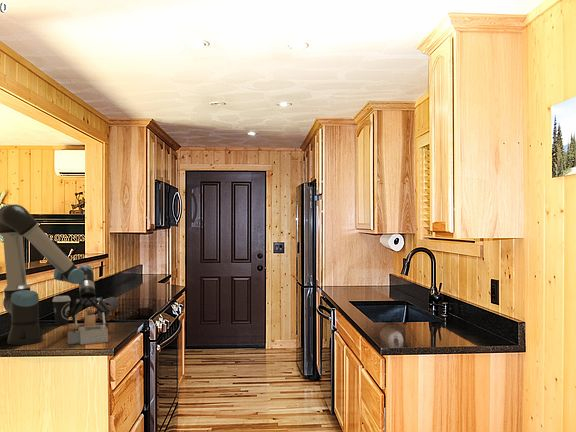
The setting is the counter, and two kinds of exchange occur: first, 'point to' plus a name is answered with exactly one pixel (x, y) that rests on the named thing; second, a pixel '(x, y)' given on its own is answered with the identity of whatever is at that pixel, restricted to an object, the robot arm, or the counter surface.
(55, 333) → the counter surface
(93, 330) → the motor housing
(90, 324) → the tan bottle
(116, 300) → the bluetooth speaker
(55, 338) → the counter surface
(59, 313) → the coffee cup
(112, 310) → the tin
